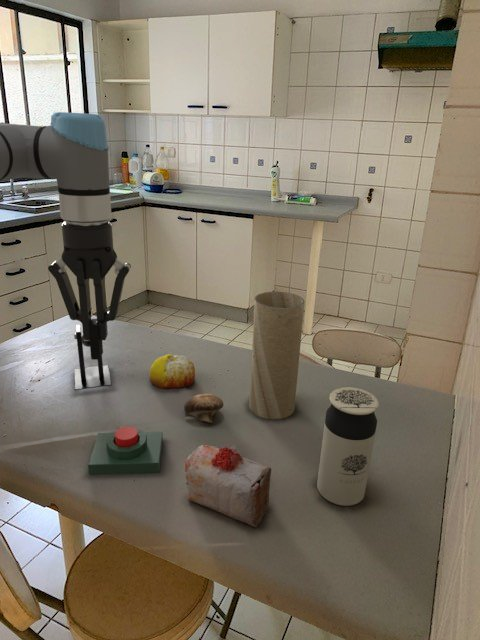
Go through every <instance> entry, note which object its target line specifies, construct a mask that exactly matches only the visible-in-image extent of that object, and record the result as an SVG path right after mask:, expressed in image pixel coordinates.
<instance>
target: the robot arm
mask: <svg viewBox="0 0 480 640" xmlns="http://www.w3.org/2000/svg"><path fill="white" fill-rule="evenodd" d="M109 147H110V146H109V145H108V138H107V129H106V121H105V120H104V118H103V117H102V116H101V115H99V114H97V113H86V112H85V113H83V112H68V111H67V112H63V111H61V112H60V111H55V112H53V113H52V114H51V116H50V125H31V124H17V123H8V122H0V182H2V181H9V180H16V179H42V180H43V179H44V180H46V179H47V180H56V184H57V192H58V201H59V203H58V204H59V214H60V219H62V220H63V222H62V224H61V232H62V234H61V235H62V243H63V251H62V253H61V258H60V259H57V260H54V261H52V263H51V264H49V265H48V267H47V270H48V272H49V273H50V274H51V276H53V278H54V279H55V281H56V283H57V286H58V289H59V292H60V295H61V298H62V300H63V303H64V306H65V309H66V312H67V314H68V316H69V319H70V320H71V321H79V322H80V323H81V326H82V327H81V328H82V336H83V338H84V339H85V340H90V347H89V348H90V360H94V361H95V360H97V361H98V360H100V358H101V356H102V357H103V354H104V345H103V341H106V339H107V337H108V335H109V334H108V333H109V331H108V322H112V321H115V319H116V317H117V315H118V313H119V309H120V308H119V307H120V304H121V298H122V294H123V289H124V284H125V278H126V277H127V275H128V274H129V272H130V271H131V268H132V265H131V263H129V262H124V261H122V260H121V259H119V258H118V254H117V253H116V251H115V248H114V238H113V235H114V234H113V224H112V222H110V221H109V220H111V219H112V217H113V215H112V204H111V203H112V201H111V189H110V171H109V168H110V167H109V149H110V148H109ZM113 267H114V273H115V274H116V277H115V279H114V285H113V290H112V293H111V294H112V295H111V298H110V304H109V308H108V309H107V296H106V276H107V275H108V273H109V272H110V270H111V269H112V268H113ZM68 269H69V270H70V272H71V273H72V274H73V275H74V277H76V284H77V288H78V300H77V298H76V294H75V291H74V289H73V286H72V282H71V280H70V277H69V275H68V273H67V270H68ZM90 280H92V283H93V288H94V299H95V311H96V312H95V313H96V318H92V316H93V313H92V301H91V288H90ZM78 301H79V302H78Z"/></svg>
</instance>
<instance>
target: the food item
mask: <svg viewBox="0 0 480 640" xmlns="http://www.w3.org/2000/svg"><path fill="white" fill-rule="evenodd" d="M236 447H237V445H236V444H233V445H232V446H229V448H228V446H213V445H209V444H202V445H200V446H198V447H197V448H196V449H195V450H193V451H192V452H191V453H190V455H188V457H186V459H185V460H184V472H185V479H186V482H185V485H186V489H187V500H188V501H189V502H193V503H195V504H198V505H201V506H203V507H206V508H209V509H210V510H213V511H215V512H218V513H221V514H223V515H225V516H227V517H229V518H231V519H234V520H236V521H239V522H242V523H245V524H247V525H249V526H251V527H254V528H256V529H257V527H258V525H259V524H260V523H261V522H262V519H263V517H264V515H265V514H266V512H267V510H268V507H269V504H270V503H269V502H270V489H271V477H272V467H271V466H268V465H264V464H261V463H259V462H257V461H255V460H251V459H249V458H247V457H244V456H242V455H241V453H238V451H237V448H236Z"/></svg>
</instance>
